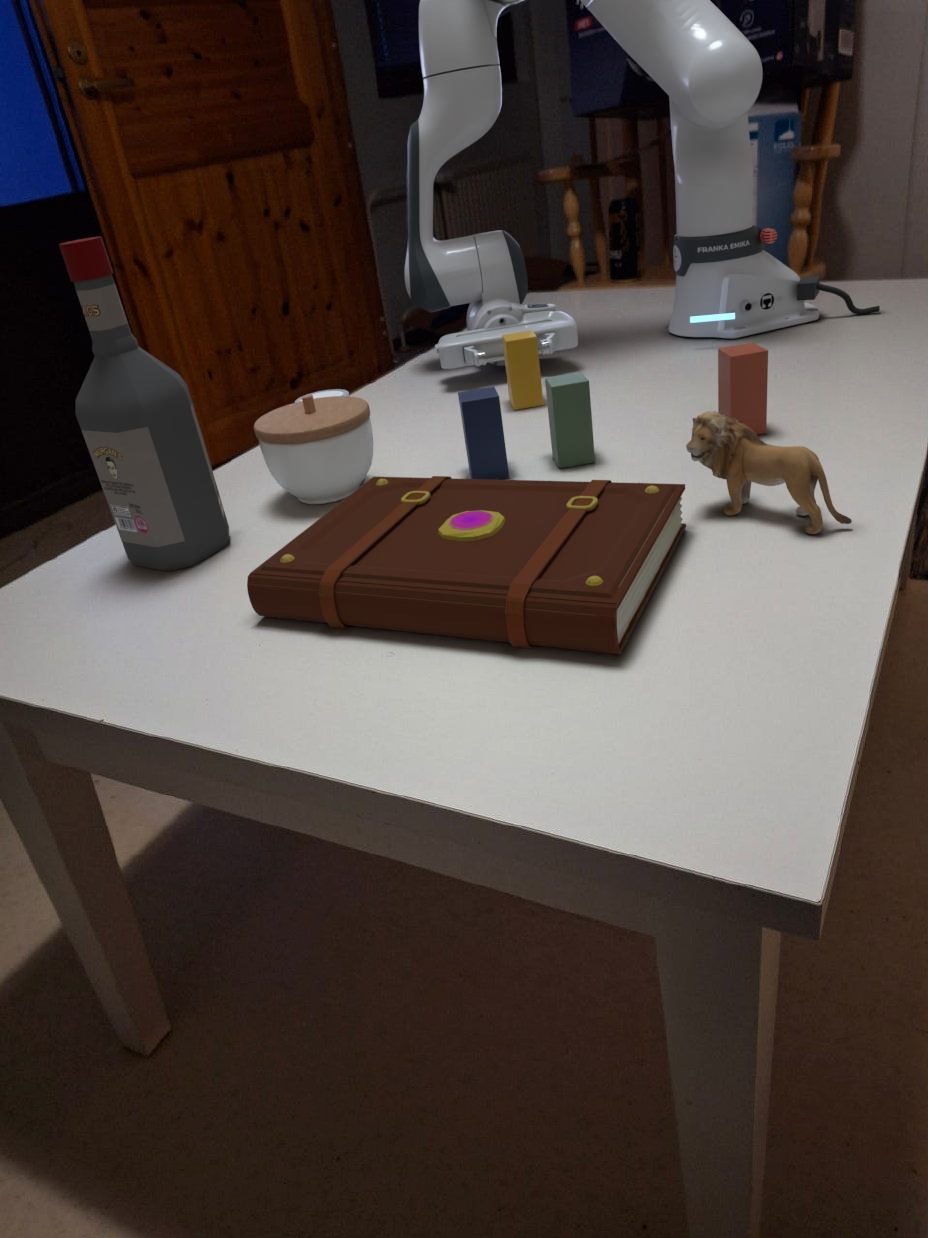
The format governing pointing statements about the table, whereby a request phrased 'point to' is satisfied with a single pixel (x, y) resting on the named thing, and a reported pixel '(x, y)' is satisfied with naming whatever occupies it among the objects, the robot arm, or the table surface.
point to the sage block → (570, 419)
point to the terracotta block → (744, 384)
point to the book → (480, 560)
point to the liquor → (142, 431)
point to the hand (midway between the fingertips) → (514, 354)
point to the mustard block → (523, 369)
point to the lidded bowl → (318, 446)
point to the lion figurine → (759, 465)
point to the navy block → (484, 433)
